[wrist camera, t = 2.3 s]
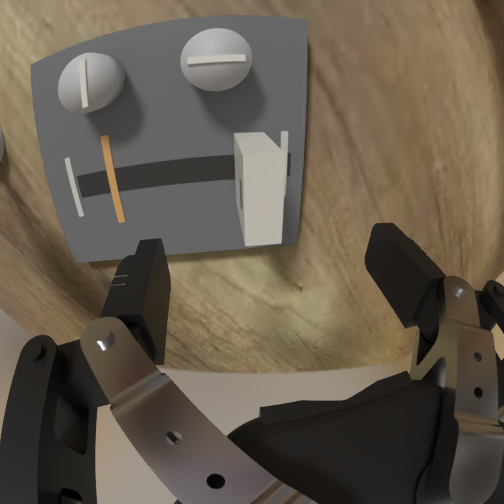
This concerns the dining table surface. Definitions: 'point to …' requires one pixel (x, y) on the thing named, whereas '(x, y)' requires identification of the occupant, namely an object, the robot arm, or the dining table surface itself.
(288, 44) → the console
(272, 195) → the block
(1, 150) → the chalice
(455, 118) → the dining table surface
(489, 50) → the dining table surface
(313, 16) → the dining table surface
